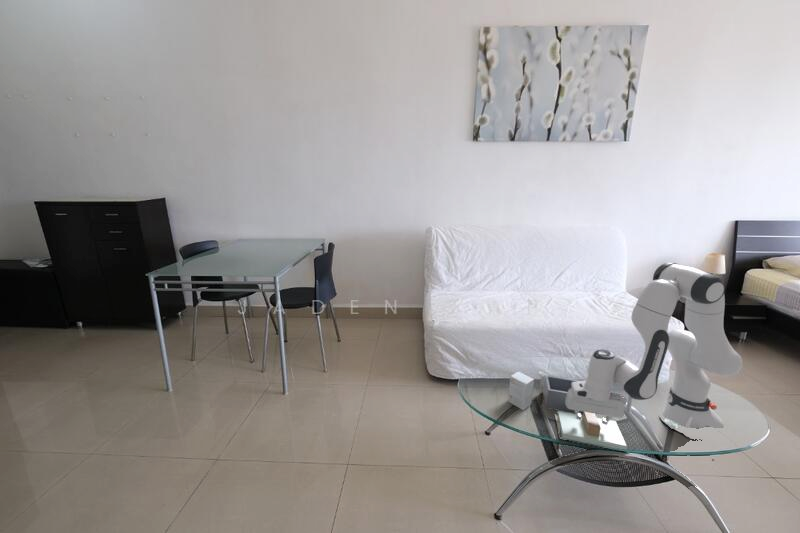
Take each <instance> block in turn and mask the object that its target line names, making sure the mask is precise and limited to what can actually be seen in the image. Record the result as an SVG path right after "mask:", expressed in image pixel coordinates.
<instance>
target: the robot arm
mask: <svg viewBox="0 0 800 533" xmlns="http://www.w3.org/2000/svg"><path fill="white" fill-rule="evenodd" d="M725 292H726V285H725V282H724V280H723V279H721V277H719V276H717V275H715V274H713V273H709V272H707V271H704V270H702V269H698V268H695V267H692V266H687V265H681V264H680V263H676V262H666V263H663V264H660V266H658V267H657V268H656V270H655V271H654V273H653V276H652V281H650V282H649V283H648V284H647V285H646V286H645V288H644V289H643V291H642V292H641V294H640V295H639V297H638V298H637V301H636V303H635V306H634V307H633V309H632V312H631V321H632V324H633V326H634V327H635V329H636V330H637V331H638V333H639V334H640V336H641V338H642V339H643V340H642V341H643V342H644V346H645V348H644V353H643V356H642V360H641V362H640V365H639V366H638V365H636V364H635V363H634V362H633V361H631V360H630V359H629V358H627V357H625V356H623V355H620V356H619V355H617V354H615V353H614V352H613V351H611V350H608V349H597V350H595V351H594V352H592V355H591V356H590V359H589V363H588V365H587V366H588V367H587V376H586V378H585V379H584V380H579V381H576V382H572V383H571V387H572V388H570V389H569V390H568V393H567V395H566V399H565V404H566V406H567V408H568V409H572V410H575V413H574V414H576V419H578V420H581V414H579V411H584V412H589V413H595V414H596V415H602V416H605V418H604V417H602V418H601V419H602V423H603V424H605V425H607V424H608V421H610V420H611V421H612V419H613V418H618V419H622V418H624V417H625V410H626V409H625V406H626V405H627V401H628V399H627V397H626V396H625V395H623V394H621V393H615V392H612V389H613V385H614V384H617V385H618V386H619V387H620V388H622V389H623V390H624V391H625V393H626V394H627V395H629V397H630V398H631V399H633V400H636V401H637V400H638V401H644V400H649V399H651V398H653V397H654V396H655V394H656V392H657V390H658V385H659V384H658V382H659V377H660V372H661V370H662V367H663V364H664V361H665V358H666V355H667V351H668V352H669V354H670V356H671V358H672V362H673V366H674V376H673V381H672V385H671V386H672V387H670V389H669V392H668V395H667V402H666V404H665V406H664V408H663V410H662V411H661V412H662V415H663V416H664V417H665V418H668V419H670V420H672V421H674V422H676V423H678V424H679V425H681V426H684V427H686V428H689V427H690V428H696V429H699V428H704V427H713V428H724V429H725V425H724V421H723V420H722V419H721V417H720V416H719V415H718V414H717V413H716V412H715V410H716V409H717V408H718V407H717V405H716V404H715V403H714V402H712V401H711V400H710V399H709V398H708V395H709V392H710V388H711V380H710V378H709V377H708V375H707V374H706V373H705V371H704V370H706V371H707V372H709V373H711V374H715V375H718V376H720V377H724V378H729V377H733V376H736V375H737V374H739V372H740V371H741V369H742V368H743V358H742V356H741V355H740V354H739V352H737V351H736V350H735V349H734V347H733V346H732V345H731V343H730V342H729V340H728V337H727V335H726V333H725V329H724V321H725V320H724V317H725V308H726V307H725V306H726V302H725V301H726V299H725V298H726V297H725ZM681 298H684V299H686V300H685V304H684V305H685V306H684V307H685V308H684V319H683V320H684V325H685V327H686V328H687V330H686V329H682V328H674V329H671V330H670V331H668V330H669V323H670V320H671V317H672V315H673V314H674V311H675V309H676V306H677V303H678V301H679V300H680V299H681Z"/></svg>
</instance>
